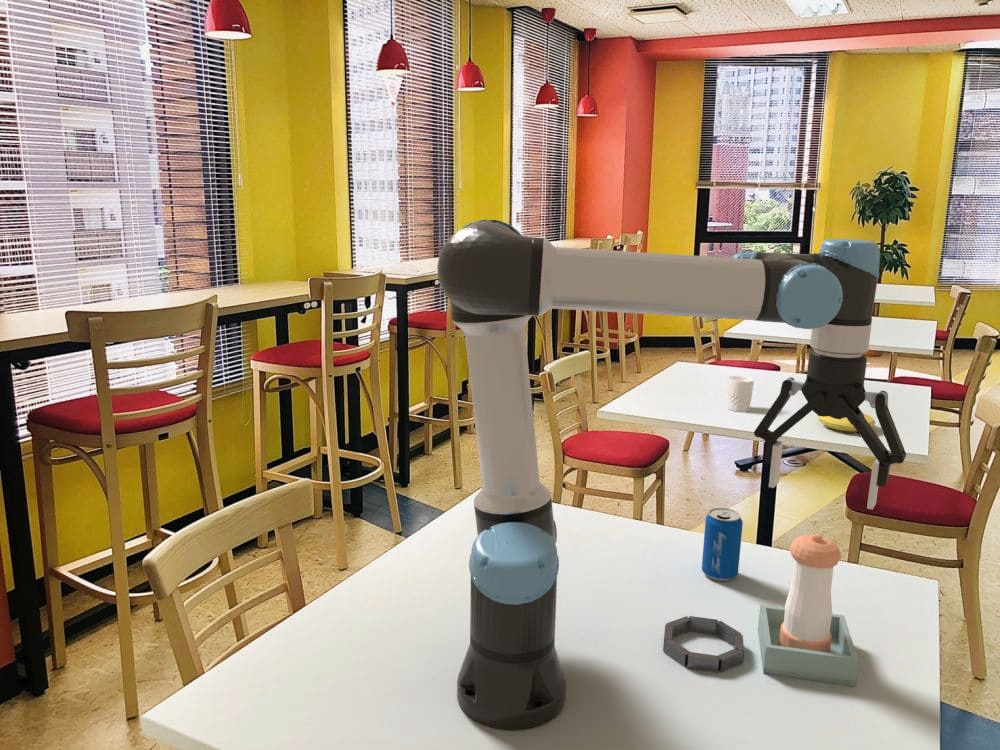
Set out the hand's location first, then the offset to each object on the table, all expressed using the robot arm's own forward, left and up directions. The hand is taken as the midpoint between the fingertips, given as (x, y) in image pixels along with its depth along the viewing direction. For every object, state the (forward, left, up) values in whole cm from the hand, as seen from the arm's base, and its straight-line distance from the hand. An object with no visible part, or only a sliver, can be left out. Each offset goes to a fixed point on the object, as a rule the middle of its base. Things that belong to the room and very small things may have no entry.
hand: (821, 495), depth 119 cm
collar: (-2, +15, -26) cm, 30 cm away
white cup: (+142, +4, -26) cm, 145 cm away
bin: (0, 0, -26) cm, 26 cm away
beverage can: (+24, +12, -26) cm, 38 cm away
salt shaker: (0, 0, -26) cm, 26 cm away
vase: (+130, -26, -27) cm, 135 cm away
